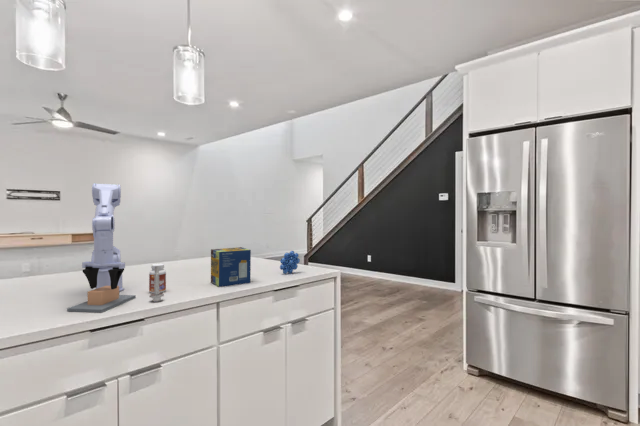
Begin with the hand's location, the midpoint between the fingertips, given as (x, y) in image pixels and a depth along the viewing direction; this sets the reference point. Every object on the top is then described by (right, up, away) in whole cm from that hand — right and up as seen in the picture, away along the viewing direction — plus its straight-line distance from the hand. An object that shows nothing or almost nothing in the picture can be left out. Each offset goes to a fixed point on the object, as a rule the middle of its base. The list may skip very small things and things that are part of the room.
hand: (103, 288), depth 119 cm
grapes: (+60, -5, +59) cm, 84 cm away
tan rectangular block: (0, -5, 0) cm, 5 cm away
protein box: (+36, -6, +36) cm, 51 cm away
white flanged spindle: (+16, -6, +5) cm, 18 cm away
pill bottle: (+10, -6, +18) cm, 22 cm away
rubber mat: (0, -6, 0) cm, 6 cm away
